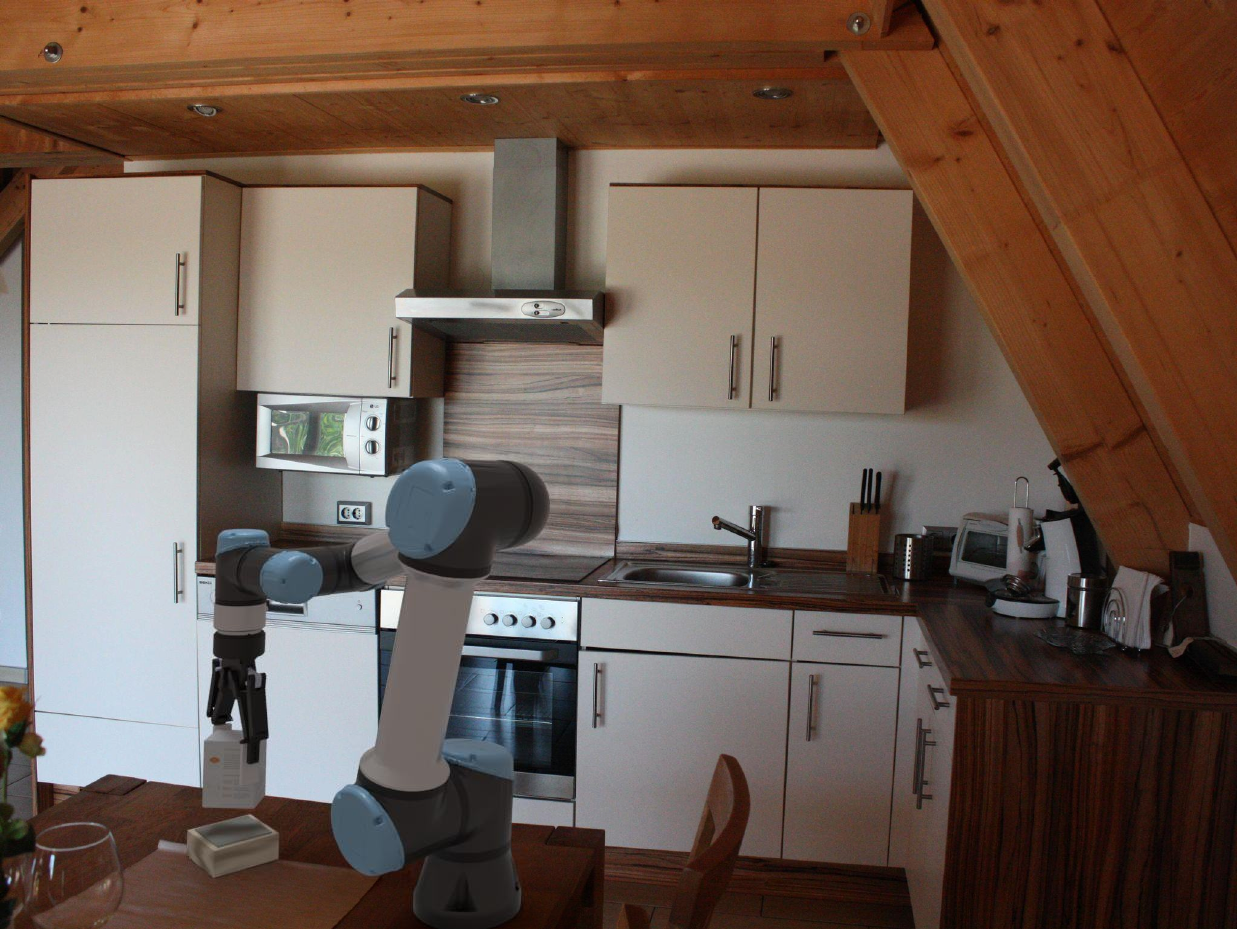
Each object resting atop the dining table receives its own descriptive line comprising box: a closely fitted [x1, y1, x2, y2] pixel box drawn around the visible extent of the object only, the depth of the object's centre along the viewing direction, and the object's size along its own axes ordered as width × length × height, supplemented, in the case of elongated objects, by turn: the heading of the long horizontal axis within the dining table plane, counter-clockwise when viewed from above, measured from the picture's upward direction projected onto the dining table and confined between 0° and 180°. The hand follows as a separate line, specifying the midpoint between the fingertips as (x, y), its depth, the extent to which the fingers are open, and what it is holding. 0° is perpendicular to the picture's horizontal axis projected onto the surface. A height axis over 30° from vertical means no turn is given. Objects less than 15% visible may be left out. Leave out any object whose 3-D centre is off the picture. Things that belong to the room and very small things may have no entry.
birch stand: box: [186, 813, 280, 879], centre depth 149 cm, size 10×10×4 cm
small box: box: [201, 729, 268, 810], centre depth 149 cm, size 8×6×10 cm
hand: (234, 774), depth 149 cm, fingers closed on small box, 9 cm apart
